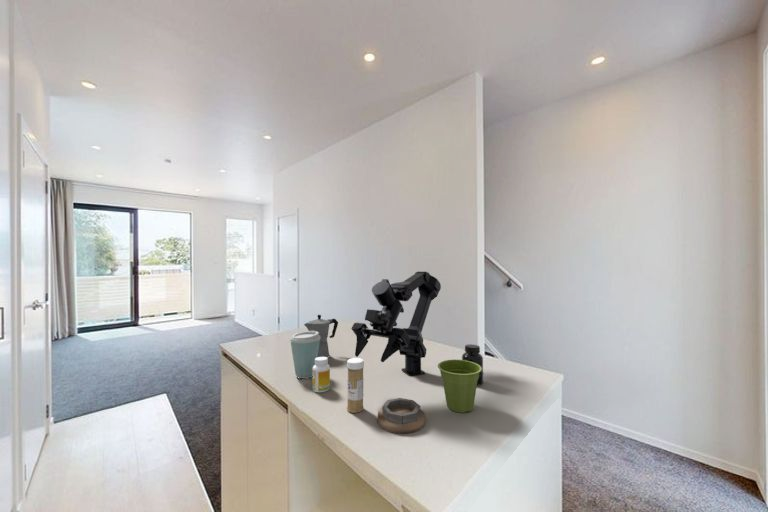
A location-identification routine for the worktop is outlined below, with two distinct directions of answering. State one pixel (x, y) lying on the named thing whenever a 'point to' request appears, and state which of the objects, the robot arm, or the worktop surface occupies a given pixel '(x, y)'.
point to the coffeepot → (322, 333)
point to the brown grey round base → (401, 416)
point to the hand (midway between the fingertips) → (368, 358)
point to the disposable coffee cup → (305, 352)
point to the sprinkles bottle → (355, 385)
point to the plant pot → (459, 383)
